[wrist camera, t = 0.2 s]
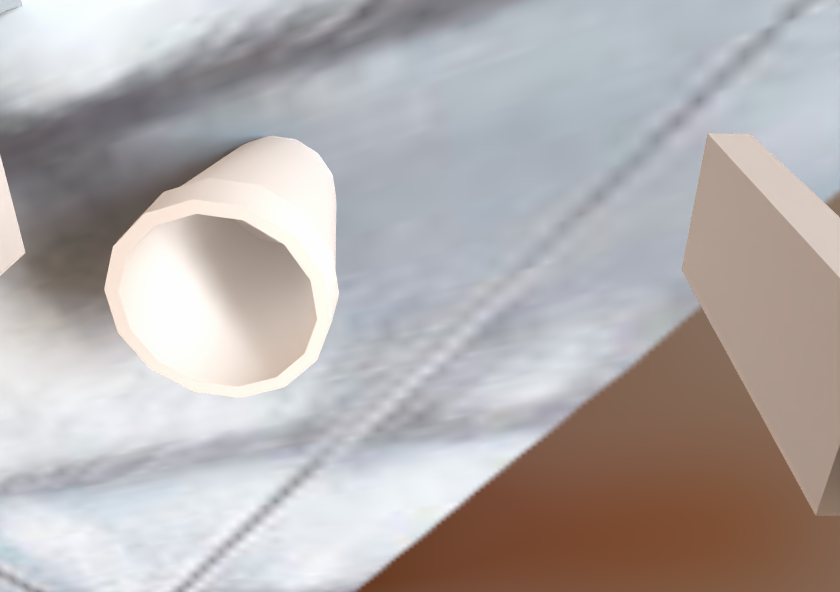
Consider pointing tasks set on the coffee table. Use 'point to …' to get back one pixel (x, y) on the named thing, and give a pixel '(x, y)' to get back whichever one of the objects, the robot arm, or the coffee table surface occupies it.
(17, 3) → the gray block
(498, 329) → the coffee table surface
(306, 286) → the foam cup
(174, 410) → the coffee table surface
